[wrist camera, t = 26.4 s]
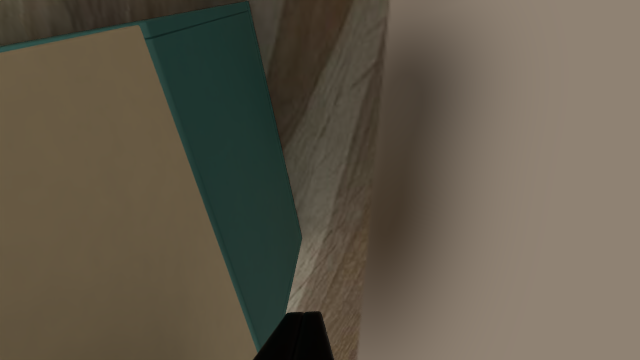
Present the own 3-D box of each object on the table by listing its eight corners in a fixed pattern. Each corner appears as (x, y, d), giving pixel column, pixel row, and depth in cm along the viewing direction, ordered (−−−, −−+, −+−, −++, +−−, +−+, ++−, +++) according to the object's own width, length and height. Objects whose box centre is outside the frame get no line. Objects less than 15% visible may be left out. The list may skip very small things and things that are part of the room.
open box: (248, 0, 17) (146, 20, 9) (302, 238, 23) (271, 378, 15) (-35, 52, 20) (-317, 104, 11) (83, 254, 26) (-45, 382, 18)
